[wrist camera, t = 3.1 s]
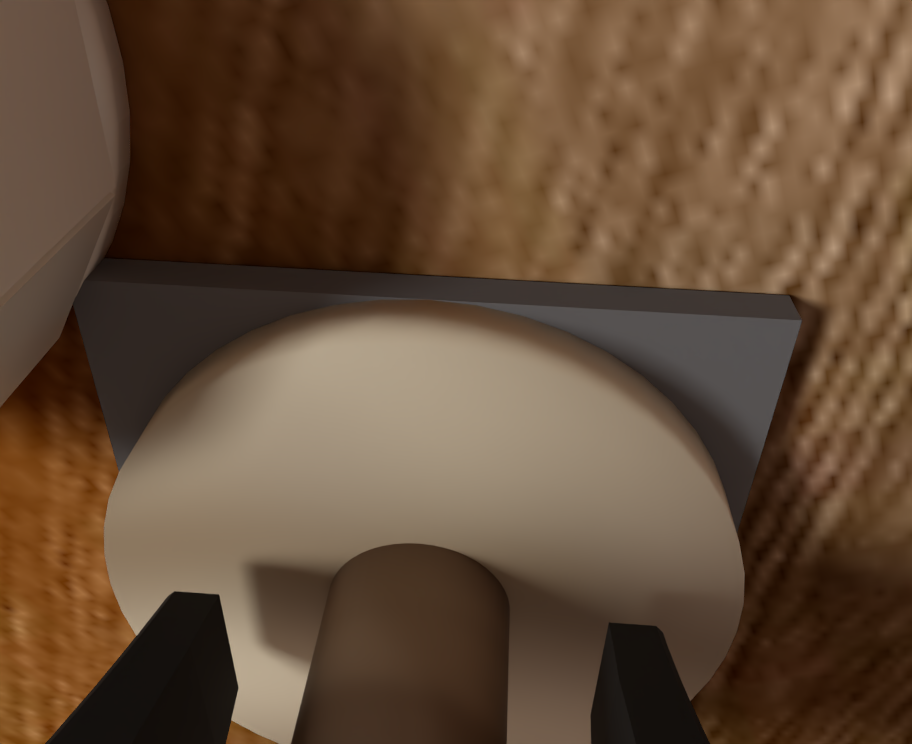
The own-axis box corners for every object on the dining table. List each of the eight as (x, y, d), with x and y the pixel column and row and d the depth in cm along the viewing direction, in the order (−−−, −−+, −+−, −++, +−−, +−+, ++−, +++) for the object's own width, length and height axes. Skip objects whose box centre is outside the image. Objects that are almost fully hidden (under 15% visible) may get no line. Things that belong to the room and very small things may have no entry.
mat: (667, 714, 16) (672, 744, 15) (194, 678, 16) (183, 706, 16) (788, 295, 10) (801, 320, 10) (86, 256, 11) (65, 279, 10)
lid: (671, 745, 15) (729, 1137, 11) (183, 704, 16) (46, 1069, 11) (802, 321, 10) (1019, 742, 6) (67, 277, 10) (-274, 638, 6)
